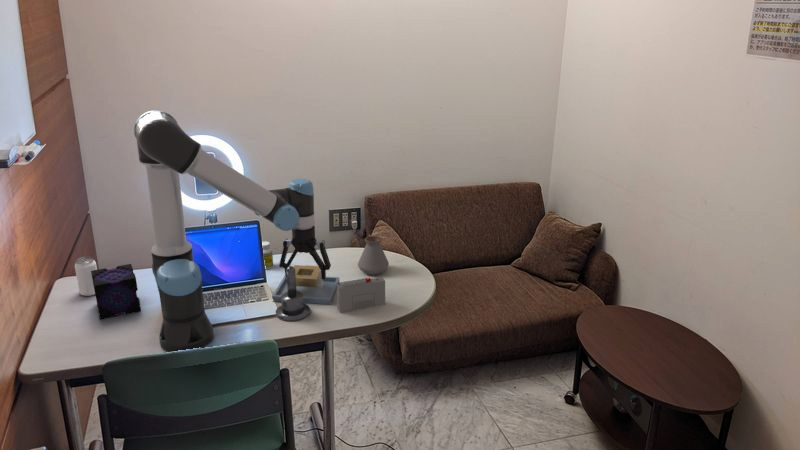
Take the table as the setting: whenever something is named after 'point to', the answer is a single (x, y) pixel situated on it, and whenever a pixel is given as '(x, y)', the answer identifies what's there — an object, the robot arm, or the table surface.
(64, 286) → the table surface
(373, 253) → the coffee pot
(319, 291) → the tray
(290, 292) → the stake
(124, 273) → the energy cube
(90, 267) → the can
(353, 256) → the table surface
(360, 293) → the cassette player
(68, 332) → the table surface
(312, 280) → the ring
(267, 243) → the supplement bottle
